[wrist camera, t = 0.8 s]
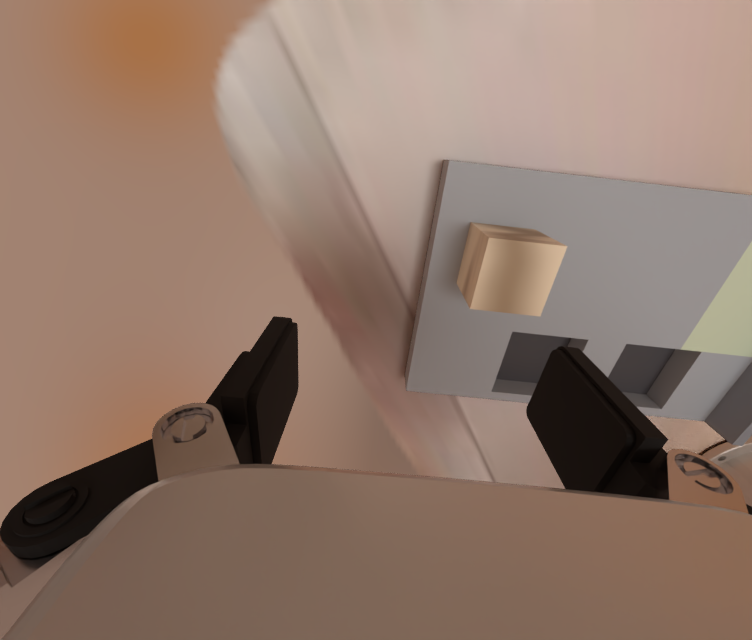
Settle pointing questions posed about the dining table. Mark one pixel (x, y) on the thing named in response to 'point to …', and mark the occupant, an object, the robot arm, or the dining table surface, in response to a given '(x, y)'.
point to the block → (508, 269)
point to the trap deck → (598, 293)
